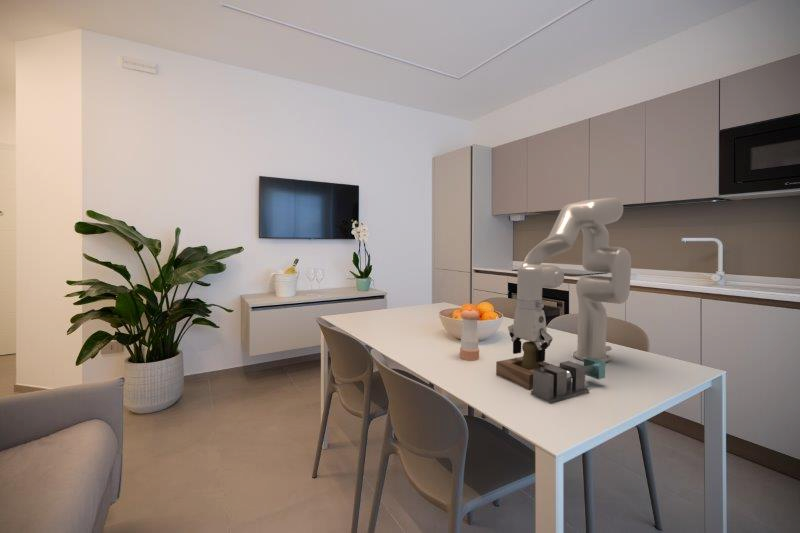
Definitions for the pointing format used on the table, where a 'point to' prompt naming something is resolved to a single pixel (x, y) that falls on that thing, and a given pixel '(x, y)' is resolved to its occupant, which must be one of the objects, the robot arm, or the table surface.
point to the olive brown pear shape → (529, 355)
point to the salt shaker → (469, 335)
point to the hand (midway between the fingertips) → (528, 357)
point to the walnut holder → (517, 372)
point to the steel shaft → (592, 368)
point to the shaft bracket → (559, 382)
